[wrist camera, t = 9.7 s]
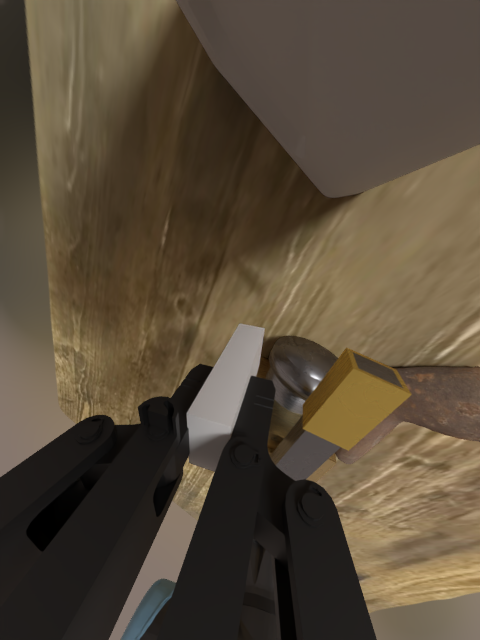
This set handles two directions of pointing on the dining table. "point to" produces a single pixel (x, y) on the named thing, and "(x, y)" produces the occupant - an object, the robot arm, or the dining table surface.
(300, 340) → the valve body
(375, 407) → the lever
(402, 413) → the pipe
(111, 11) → the dining table surface
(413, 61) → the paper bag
